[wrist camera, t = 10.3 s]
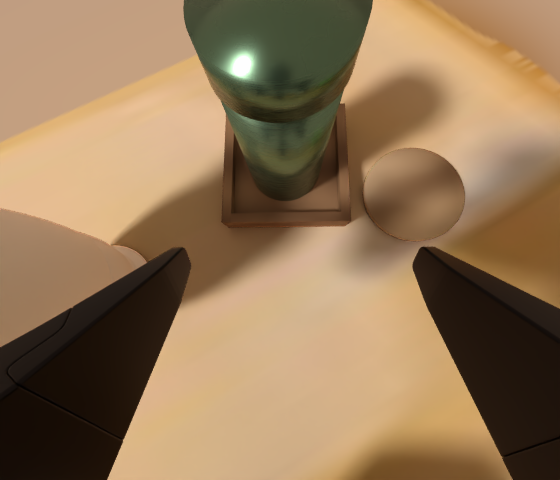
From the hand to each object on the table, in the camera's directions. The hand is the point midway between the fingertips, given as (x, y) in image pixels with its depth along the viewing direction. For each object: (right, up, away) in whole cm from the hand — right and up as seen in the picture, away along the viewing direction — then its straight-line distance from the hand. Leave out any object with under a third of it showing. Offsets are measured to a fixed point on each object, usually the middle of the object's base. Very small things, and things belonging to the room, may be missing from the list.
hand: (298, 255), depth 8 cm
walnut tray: (0, +7, +13) cm, 15 cm away
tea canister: (0, +7, +12) cm, 14 cm away
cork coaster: (+12, +5, +12) cm, 17 cm away
